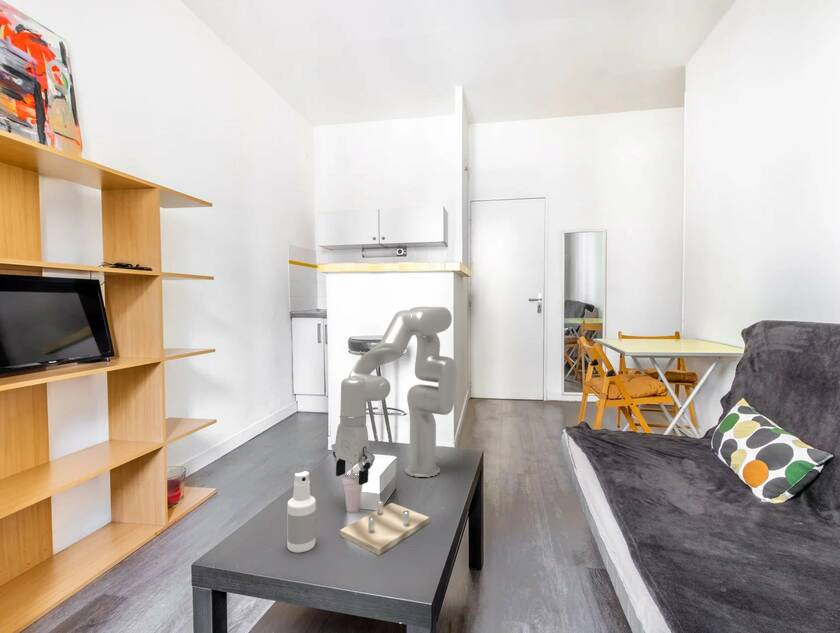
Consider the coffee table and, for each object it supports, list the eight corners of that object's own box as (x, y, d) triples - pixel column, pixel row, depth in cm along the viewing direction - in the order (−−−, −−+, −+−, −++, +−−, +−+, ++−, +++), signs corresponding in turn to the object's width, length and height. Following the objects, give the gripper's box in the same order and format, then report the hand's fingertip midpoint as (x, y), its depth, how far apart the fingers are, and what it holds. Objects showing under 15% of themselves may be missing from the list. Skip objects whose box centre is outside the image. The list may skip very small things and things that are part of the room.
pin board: (391, 507, 125) (391, 490, 125) (429, 522, 116) (429, 504, 116) (339, 535, 109) (340, 516, 109) (379, 555, 100) (379, 534, 100)
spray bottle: (291, 556, 100) (291, 481, 99) (284, 542, 105) (284, 471, 105) (319, 548, 103) (319, 475, 103) (310, 535, 109) (311, 466, 109)
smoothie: (337, 509, 123) (337, 462, 123) (354, 502, 128) (355, 456, 128) (351, 517, 119) (351, 468, 119) (368, 509, 124) (368, 462, 123)
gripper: (323, 417, 125) (322, 475, 125) (364, 428, 115) (363, 491, 114) (343, 413, 131) (341, 468, 131) (383, 423, 120) (382, 483, 120)
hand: (351, 479), depth 123 cm, fingers open, 9 cm apart
